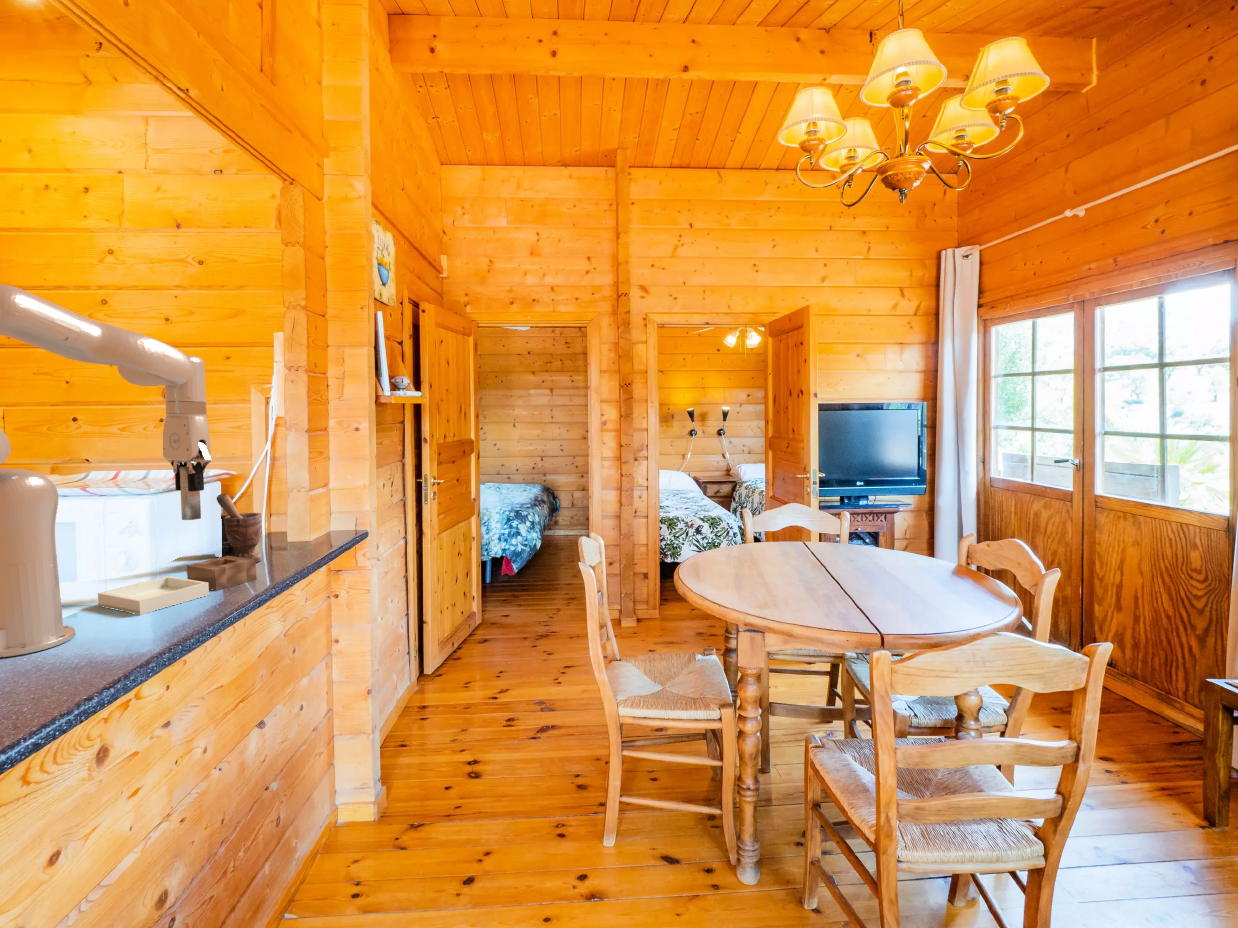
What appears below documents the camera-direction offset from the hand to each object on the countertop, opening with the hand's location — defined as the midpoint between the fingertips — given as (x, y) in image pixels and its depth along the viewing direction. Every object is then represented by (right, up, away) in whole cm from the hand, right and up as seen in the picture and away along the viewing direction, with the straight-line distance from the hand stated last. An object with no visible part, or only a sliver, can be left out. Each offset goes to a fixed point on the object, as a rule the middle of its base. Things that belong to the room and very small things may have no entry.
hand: (189, 489), depth 137 cm
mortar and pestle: (-4, -22, +25) cm, 34 cm away
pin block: (+2, -23, +8) cm, 24 cm away
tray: (-3, -24, -6) cm, 25 cm away
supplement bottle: (-14, -21, +35) cm, 43 cm away
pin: (0, -7, +1) cm, 7 cm away
